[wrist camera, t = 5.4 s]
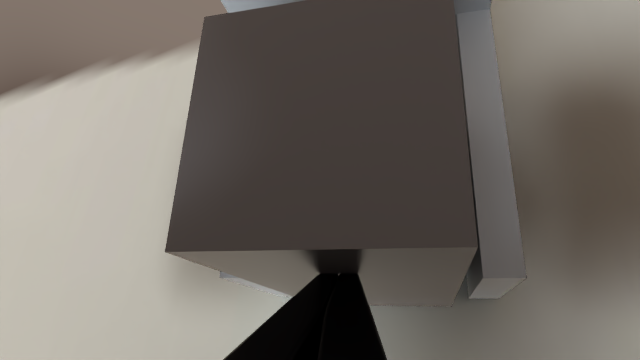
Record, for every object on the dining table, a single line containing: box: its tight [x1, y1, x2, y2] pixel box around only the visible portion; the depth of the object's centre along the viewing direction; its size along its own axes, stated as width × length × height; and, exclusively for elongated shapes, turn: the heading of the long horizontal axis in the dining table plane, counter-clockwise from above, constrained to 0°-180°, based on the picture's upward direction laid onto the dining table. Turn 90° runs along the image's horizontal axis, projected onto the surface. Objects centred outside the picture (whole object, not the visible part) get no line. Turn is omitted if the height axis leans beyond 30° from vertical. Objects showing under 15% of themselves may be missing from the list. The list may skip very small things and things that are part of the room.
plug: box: [165, 0, 478, 307], centre depth 12 cm, size 6×5×10 cm
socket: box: [220, 0, 527, 299], centre depth 14 cm, size 9×8×8 cm
